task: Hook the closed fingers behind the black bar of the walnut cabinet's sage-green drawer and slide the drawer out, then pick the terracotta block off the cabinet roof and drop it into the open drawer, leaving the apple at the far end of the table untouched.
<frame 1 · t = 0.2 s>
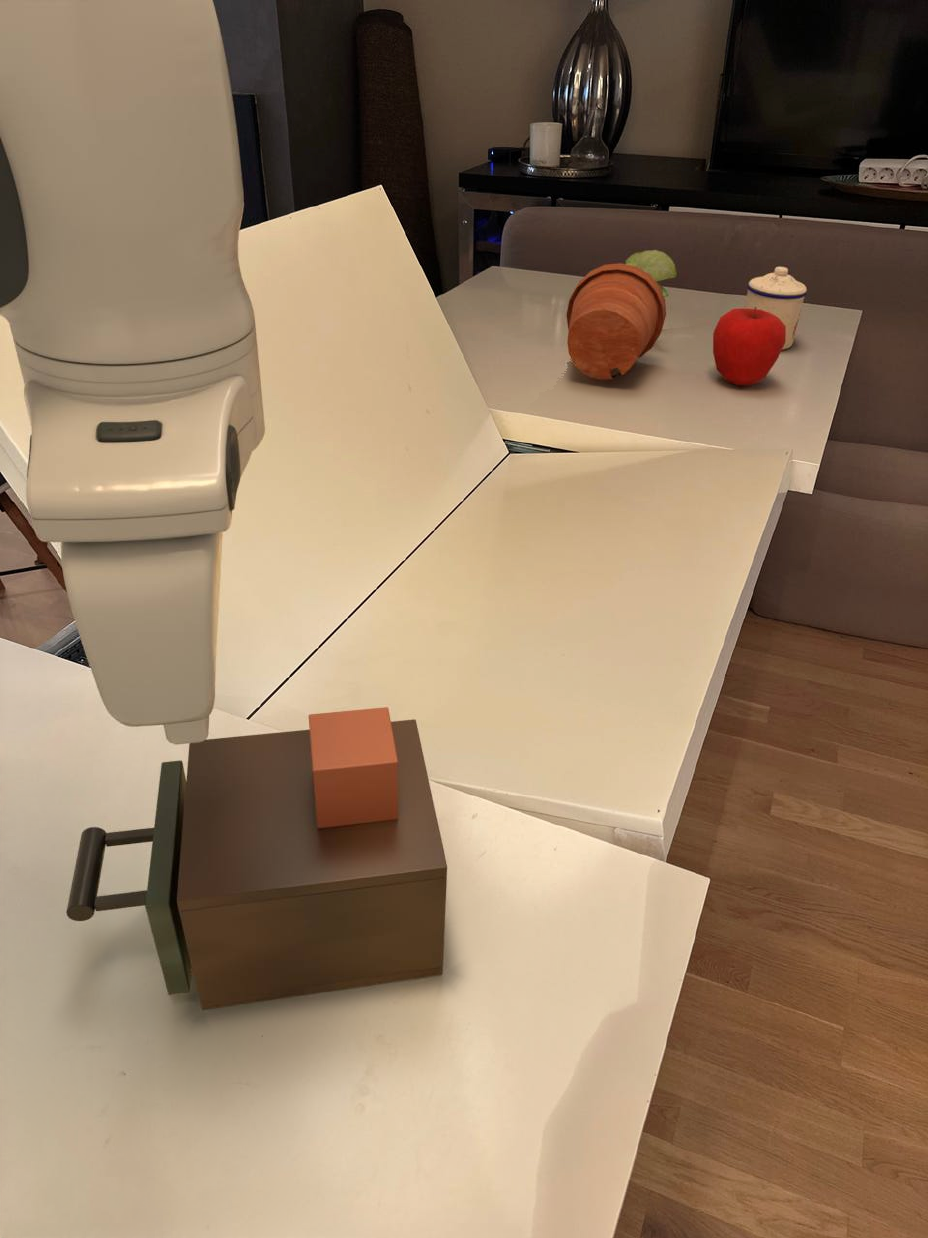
hand: (195, 667, 44), 19 cm above the table, tool pointing down, fingers open, 8 cm apart
block: (354, 794, 51), point 10 cm above the table, touching cabinet
teacup with lid: (760, 340, 149), on the table
drawer: (234, 866, 53), point 5 cm above the table, slide at 0.5 cm
apple: (738, 383, 133), on the table
cabinet: (319, 907, 56), on the table
potted plant: (612, 351, 142), on the table
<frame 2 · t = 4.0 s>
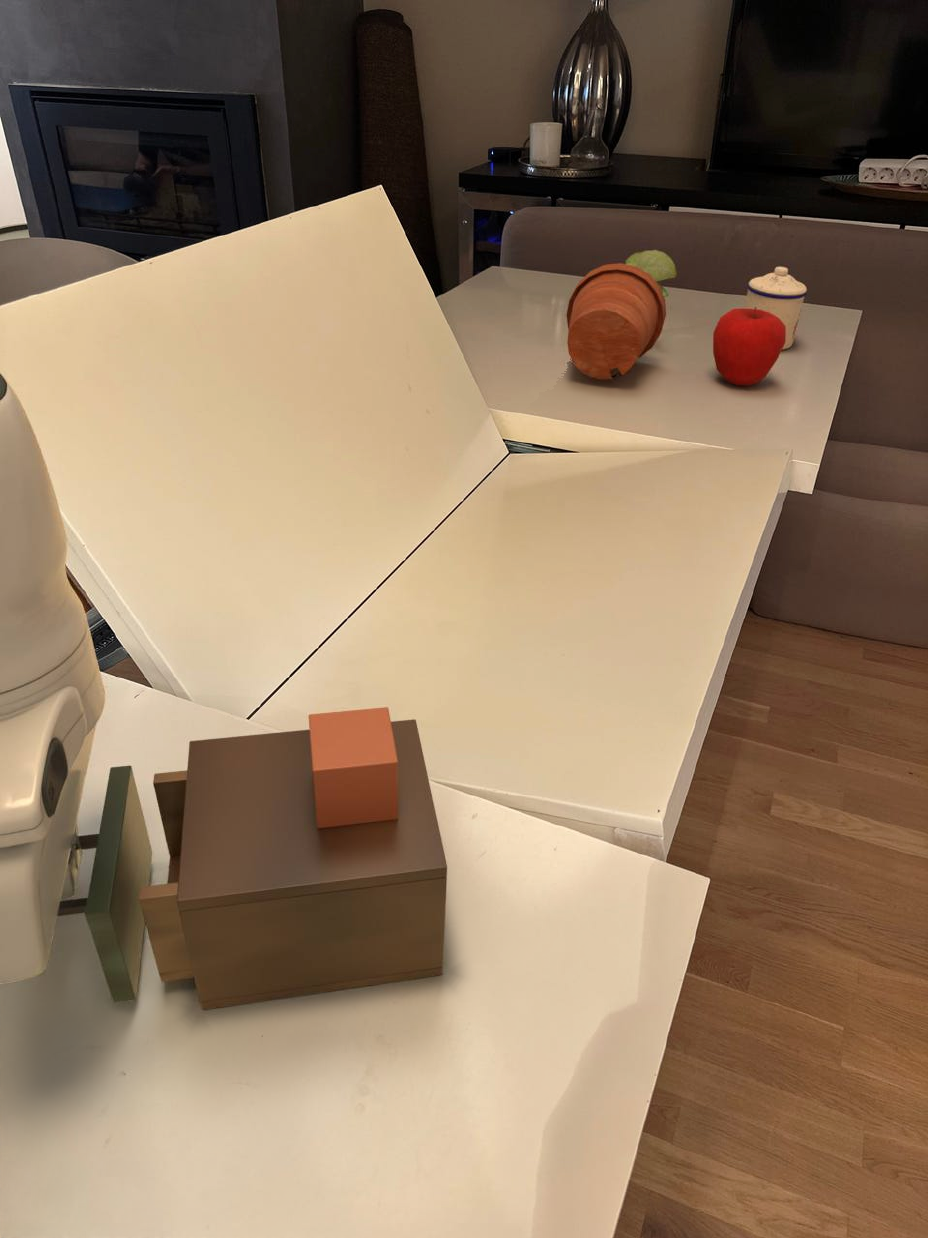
hand: (63, 878, 51), 5 cm above the table, tool pointing down, fingers closed, pressing on drawer
drawer: (182, 872, 52), point 5 cm above the table, slide at 3.4 cm, touching gripper
everything else where it was.
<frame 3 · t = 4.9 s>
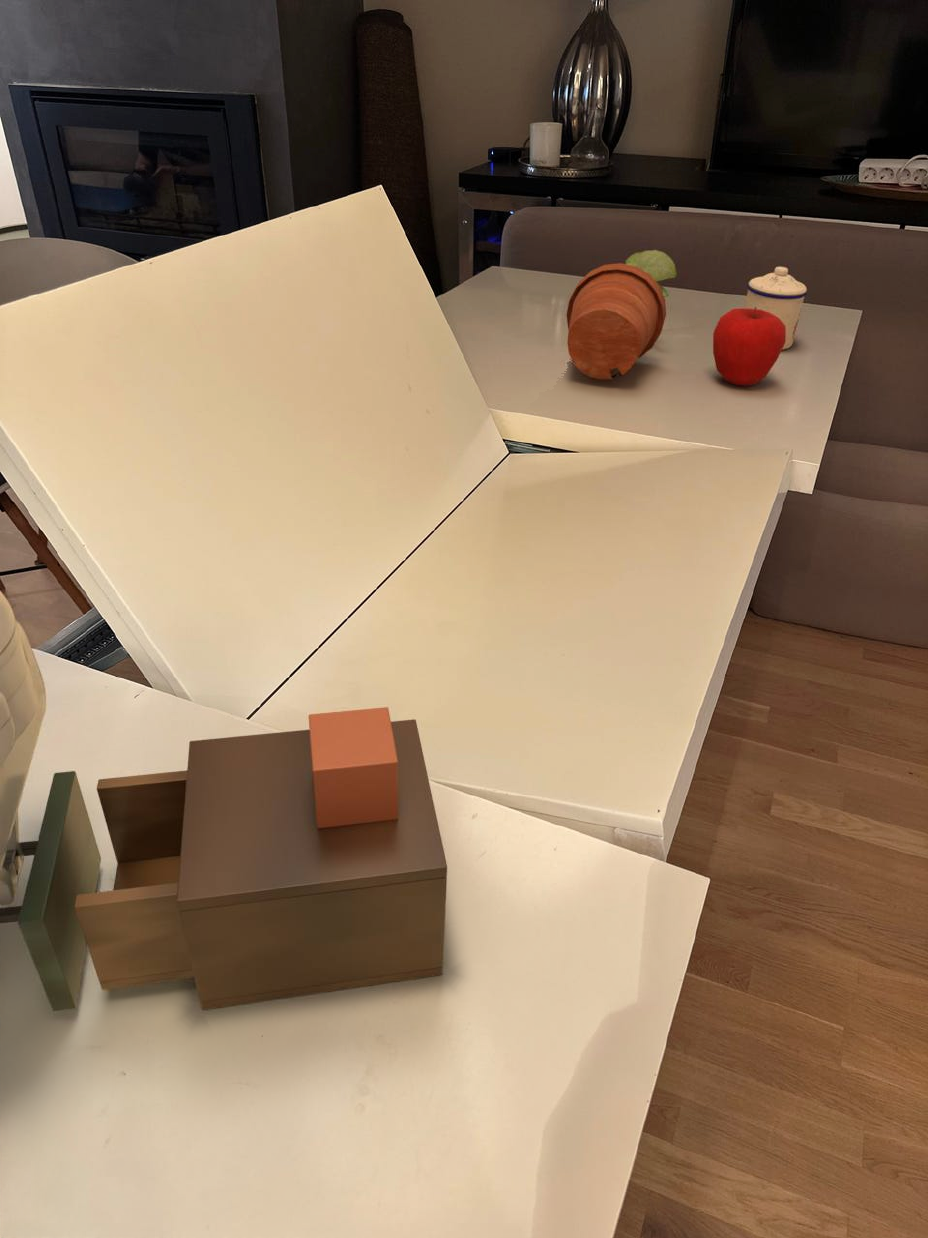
hand: (3, 884, 50), 6 cm above the table, tool pointing down, fingers closed
drawer: (126, 879, 52), point 5 cm above the table, slide at 6.5 cm
everything else where it was.
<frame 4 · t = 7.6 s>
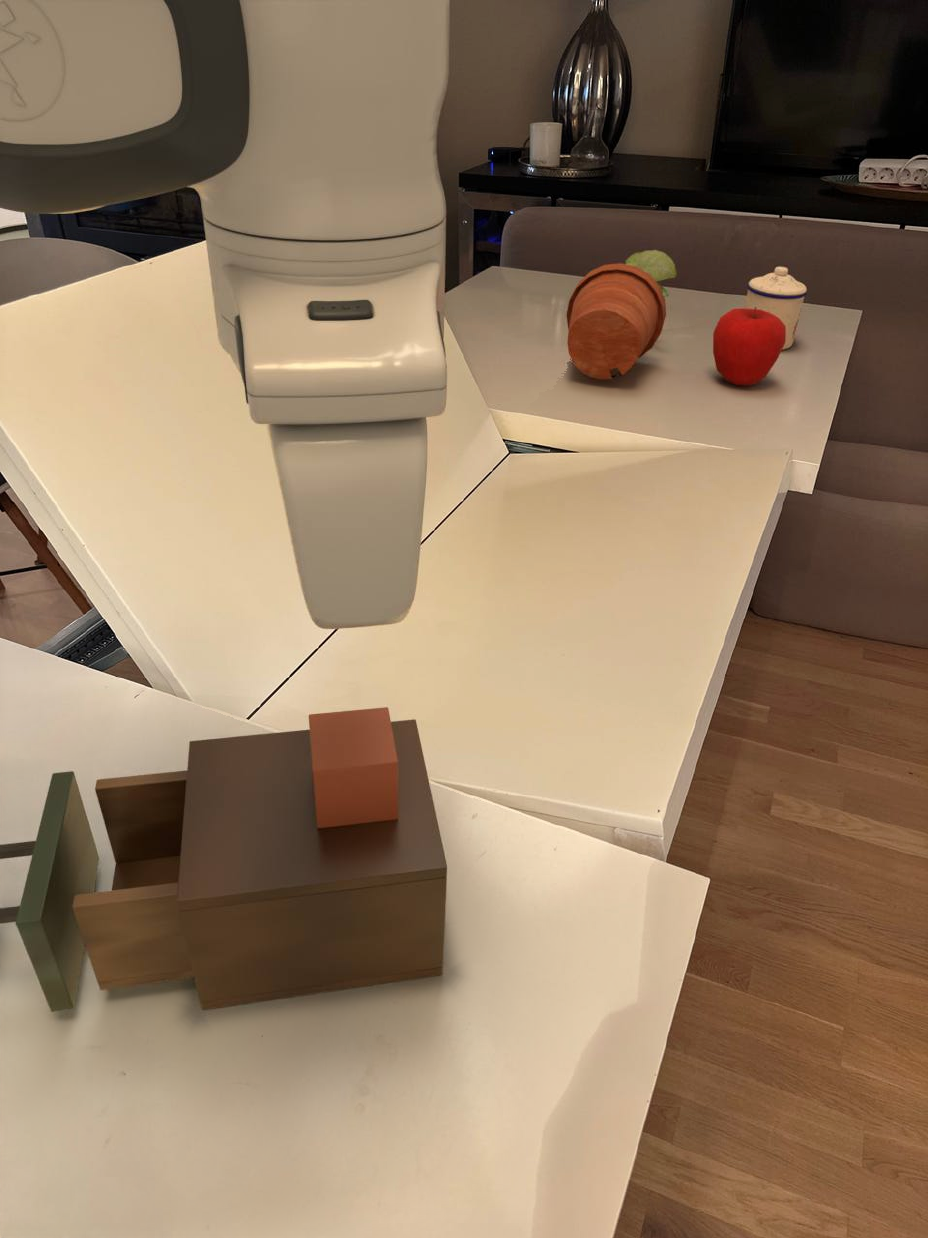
hand: (346, 591, 43), 23 cm above the table, tool pointing down, fingers closed
nothing on the table moved.
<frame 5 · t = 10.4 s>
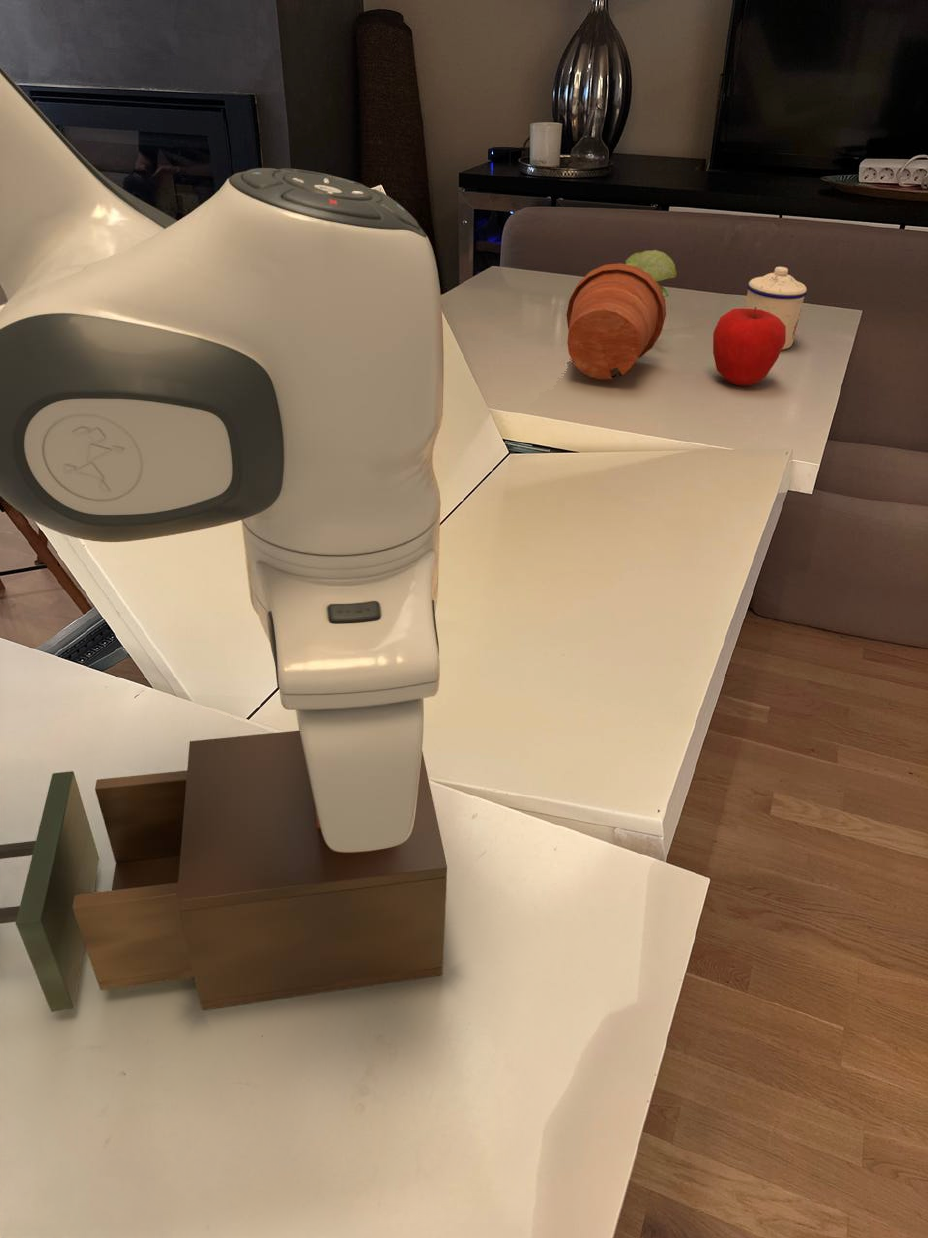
hand: (353, 773, 50), 11 cm above the table, tool pointing down, fingers closed on block, 4 cm apart
block: (354, 794, 51), point 10 cm above the table, touching cabinet, gripper
everything else where it was.
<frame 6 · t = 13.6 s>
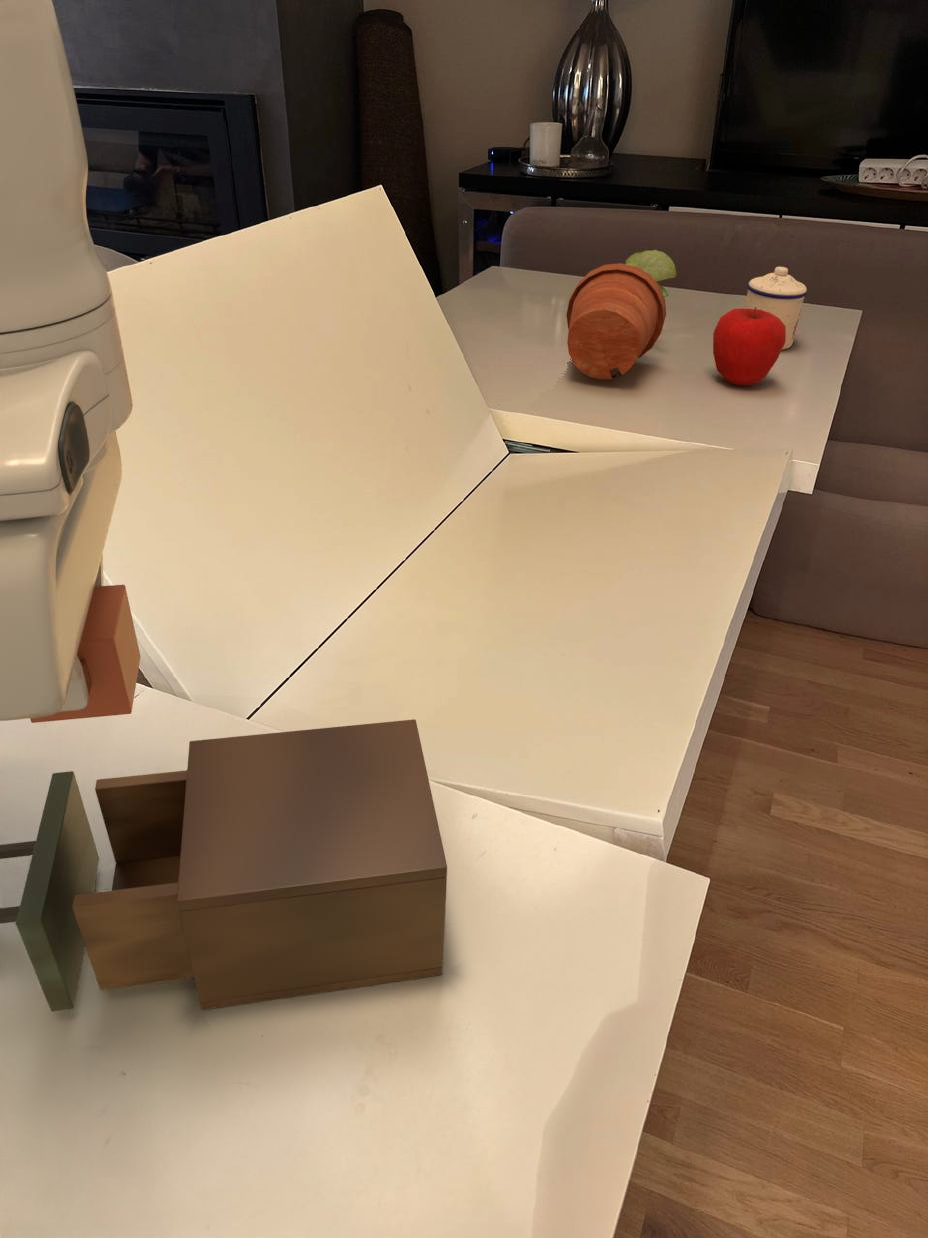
hand: (80, 661, 43), 21 cm above the table, tool pointing down, fingers closed on block, 4 cm apart
block: (88, 688, 44), point 19 cm above the table, touching gripper
everything else where it was.
when the fingers open (9 cm above the table, at t = 16.8 s): block drops 5 cm, resting on drawer.
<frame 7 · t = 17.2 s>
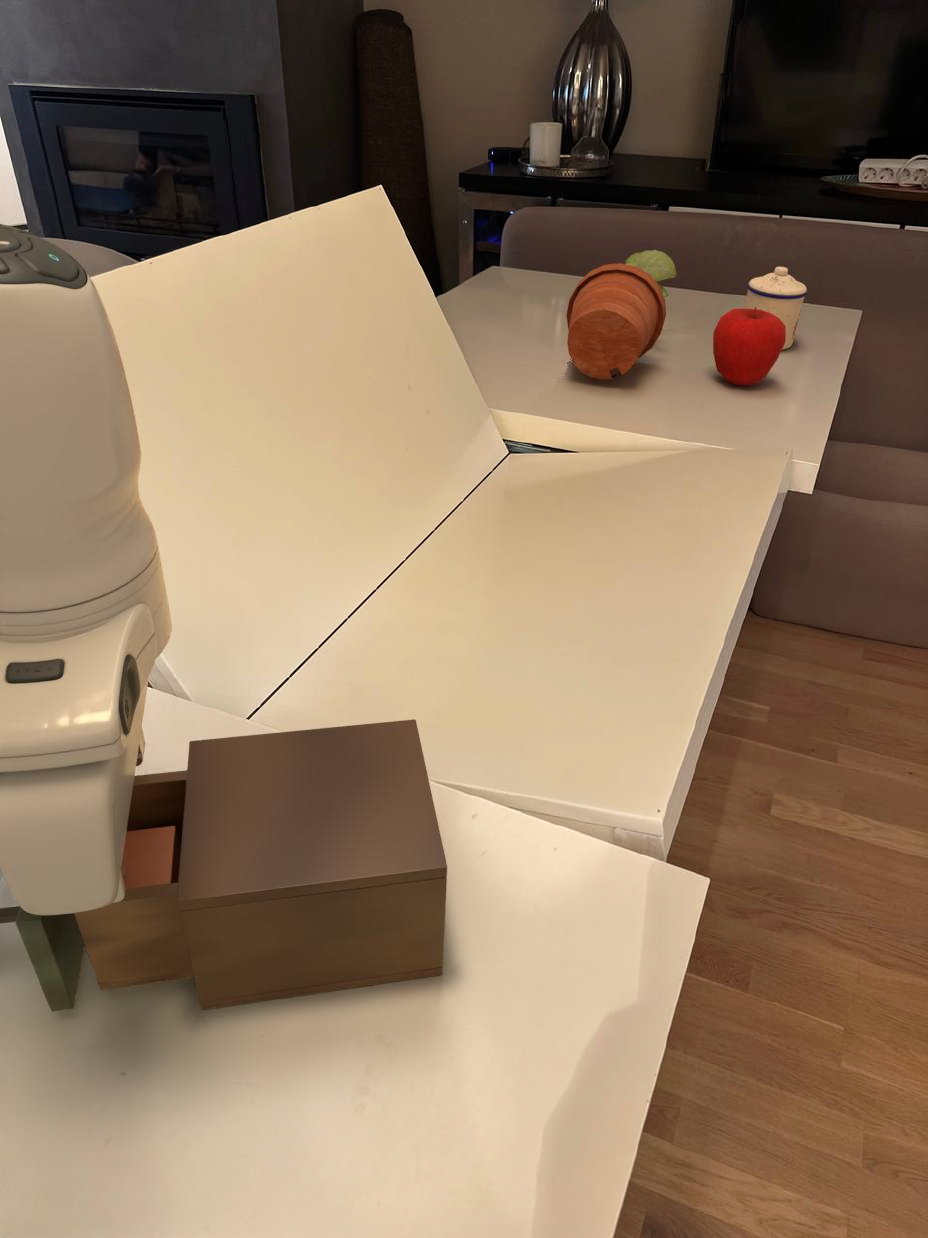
hand: (119, 820, 49), 10 cm above the table, tool pointing down, fingers open, 8 cm apart
block: (145, 909, 53), point 2 cm above the table, touching drawer
drawer: (124, 879, 52), point 5 cm above the table, slide at 6.6 cm, touching block
everything else where it was.
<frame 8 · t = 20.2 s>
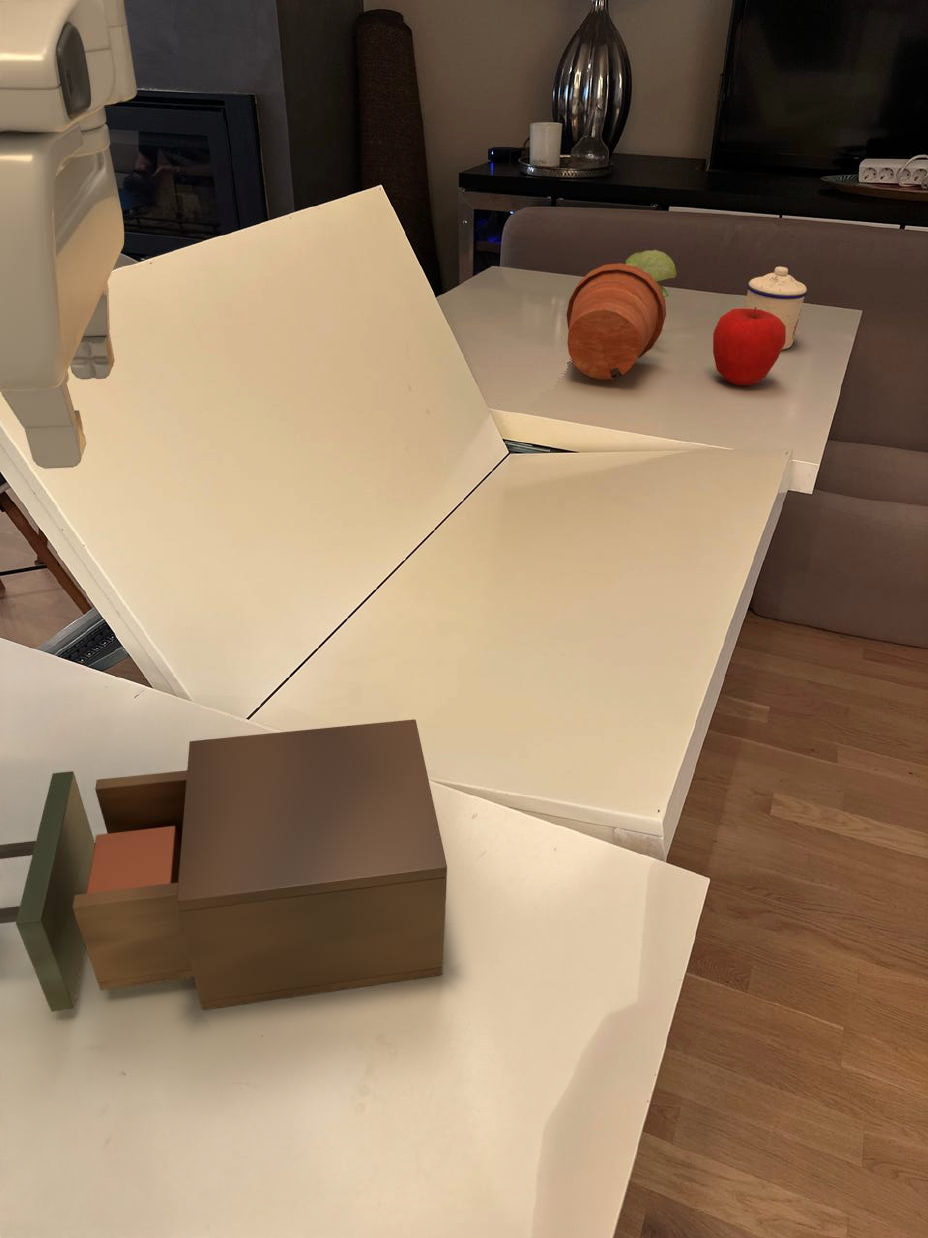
hand: (80, 413, 40), 31 cm above the table, tool pointing down, fingers open, 8 cm apart
nothing on the table moved.
at the end: drawer slide at 6.6 cm; block inside the target area in the drawer (0.5 cm from its centre), point 2.0 cm above the cabinet's base; apple moved 0.2 cm from its start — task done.
